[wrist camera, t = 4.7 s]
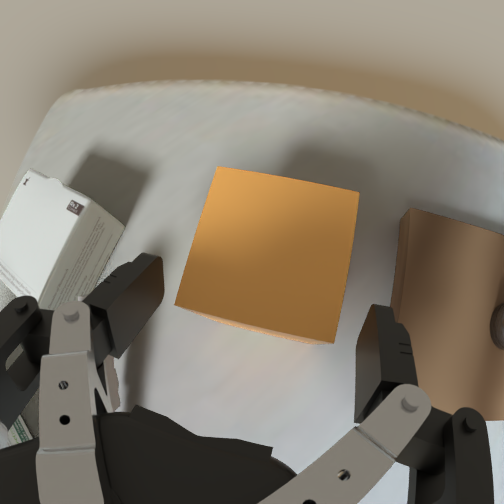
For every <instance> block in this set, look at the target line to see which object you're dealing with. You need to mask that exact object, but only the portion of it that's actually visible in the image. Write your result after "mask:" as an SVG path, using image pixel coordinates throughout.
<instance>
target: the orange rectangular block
mask: <svg viewBox="0 0 504 504" xmlns="http://www.w3.org/2000/svg"><path fill="white" fill-rule="evenodd" d="M359 193H360V192H356V191H351V190H347V189H342V188H338V187H333V186H328V185H323V184H318V183H313V182H308V181H303V180H298V179H292V178H287V177H281V176H276V175H270V174H264V173H258V172H252V171H246V170H239V169H233V168H226V167H219V166H217V169H216V172H215V175H214V178H213V181H212V184H211V187H210V190H209V193H208V196H207V199H206V202H205V205H204V208H203V211H202V214H201V217H200V220H199V224H198V227H197V230H196V233H195V236H194V240H193V243H192V246H191V249H190V253H189V256H188V259H187V263H186V266H185V269H184V273H183V276H182V280H181V283H180V286H179V290H178V294H177V297H176V301H175V304H174V305H176V306H178V307H181V308H183V309H186V310H188V311H191V312H193V313H196V314H199V315H201V316H204V317H207V318H209V319H212V320H215V321H217V322H220V323H224V324H228V325H232V326H236V327H240V328H244V329H248V330H252V331H256V332H260V333H264V334H269V335H273V336H277V337H282V338H286V339H291V340H295V341H300V342H305V343H309V344H333V343H334V341H335V336H336V332H337V327H338V322H339V317H340V313H341V308H342V303H343V297H344V292H345V287H346V281H347V276H348V270H349V264H350V258H351V252H352V245H353V239H354V232H355V225H356V217H357V210H358V202H359Z"/></svg>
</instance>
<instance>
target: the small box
mask: <svg viewBox="0 0 504 504" xmlns="http://www.w3.org/2000/svg"><path fill="white" fill-rule="evenodd" d="M124 229H125V226H124V225H123V224H122V223H121V222H120V221H118V220H117V219H116V218H115V217H114V216H112V215H111V214H110V213H109V212H107V211H106V210H105V209H104V208H102V207H101V206H100V205H99V204H97V203H96V202H95V201H93V200H92V199H91V198H89V197H87V196H85V195H84V194H82V193H80V192H78V191H76V190H74V189H72V188H70V187H68V186H66V185H64V184H63V183H62V182H61V181H60V180H59V179H57V178H49V177H47V176H46V175H44V174H42V173H40V172H38V171H36V170H34V169H32V168H30V169H29V170H28V171H27V173H26V174H25V176H24V177H23V179H22V180H21V182H20V184H19V185H18V187H17V189H16V191H15V192H14V194H13V196H12V198H11V200H10V202H9V204H8V206H7V208H6V210H5V212H4V214H3V216H2V218H1V220H0V280H1V281H2V282H3V283H4V284H5V285H6V286H7V287H8V288H9V289H10V290H11V291H12V292H13V293H14V294H15V295H16V296H17V297H20V296H25V295H28V296H33V297H34V298H36V300H37V302H38V305H39V308H40V309H47V310H56V308H57V307H59V306H60V305H61V304H63V303H66V302H69V301H78V296H82V295H87V294H90V293H91V292H92V291H93V289H94V287H95V285H96V283H97V281H98V279H99V277H100V275H101V273H102V271H103V269H104V267H105V265H106V263H107V261H108V259H109V257H110V255H111V253H112V251H113V249H114V247H115V245H116V243H117V242H118V240H119V238H120V236H121V234H122V233H123V231H124Z"/></svg>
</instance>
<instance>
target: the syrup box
mask: <svg viewBox="0 0 504 504" xmlns="http://www.w3.org/2000/svg"><path fill="white" fill-rule="evenodd" d="M31 439H33V438H32V436H31V434H30V432H29V430H28V428H27V427H26V425H25V423H24V421H23V419H22V417H21V415H19V416H18V418H17V419H16V421H15V422H14V424H13V425H12V427H11V428H10V430H9V431H8V443H9V445H10V446H12V445H15V444H18V443H21V442H25V441H28V440H31Z"/></svg>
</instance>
